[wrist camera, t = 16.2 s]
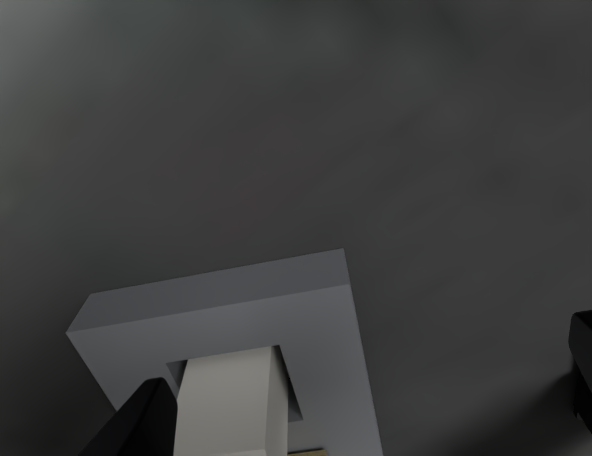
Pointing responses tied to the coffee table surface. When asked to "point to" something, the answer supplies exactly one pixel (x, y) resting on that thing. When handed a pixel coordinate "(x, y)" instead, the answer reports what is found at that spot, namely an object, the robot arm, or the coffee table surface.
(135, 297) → the socket block
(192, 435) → the plug
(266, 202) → the coffee table surface
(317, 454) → the tan piece
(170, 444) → the robot arm
